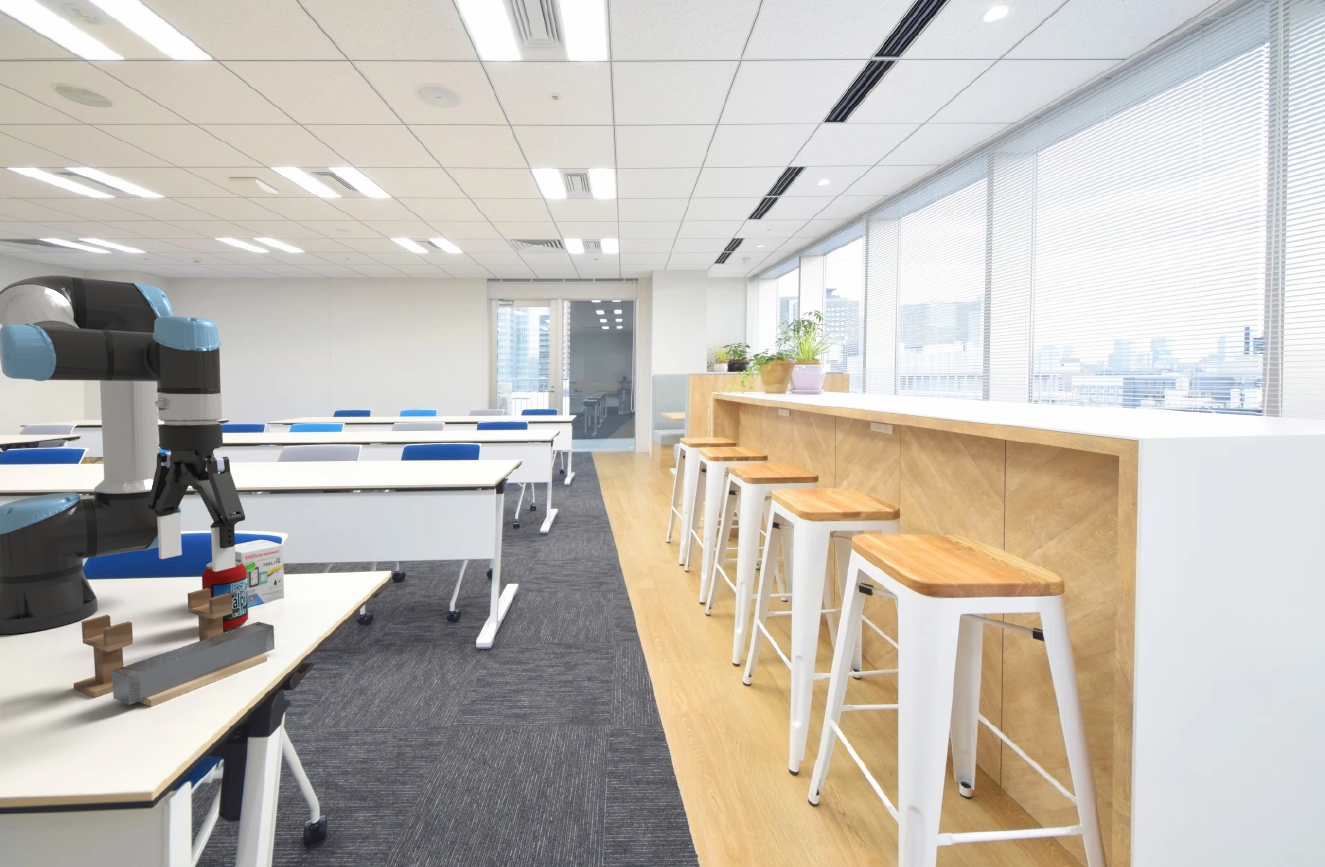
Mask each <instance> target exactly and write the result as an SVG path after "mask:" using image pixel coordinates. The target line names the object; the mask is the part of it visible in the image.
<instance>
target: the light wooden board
mask: <svg viewBox="0 0 1325 867" xmlns="http://www.w3.org/2000/svg"><path fill="white" fill-rule="evenodd" d="M267 656H268V655H267V654H265V653H263V654H260V655H258V656H255V657H252V658H250V659H247V660H245V661H242V662H239V663H237V664H234V665H232V666H229V667H226V668H224V669H221V670H219V671H216V672H213V673H211V674H208V675H206V676H203V677H200V678H198V679H195V680H193V681H190V682H187V683H185V684H182V685H180V686H177V687H174V688H172V689H169V690H167V691H164V692H161V693H159V694H156V695H154V696H151V697H148V698H146V699H143V700H141V701H138V702H139V703H141V704H144V705H146V706H148V707H154V706H157V705H159V704H163V703H165V702H166V701H170V700H171V699H172V700H173V699H174V698H177V697H179V696H182V695H184V694H187V693H189V692H192V691H194V690H196V689H200V688H202V687H205V686H207V685H209V684H212V683H215V682H217V681H219V680H222V679H224V678H228V677H229V676H232V675H235V674H237V673H239V672H242V671H245V670H247V669H250V668H252V667H254V666H256V665H257V666H258V665H260V664H262V663H265V662H267V661H268V659H267V658H268V657H267Z"/></svg>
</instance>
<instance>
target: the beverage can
mask: <svg viewBox="0 0 1325 867" xmlns="http://www.w3.org/2000/svg"><path fill="white" fill-rule="evenodd" d="M205 566H206V567H205V569H204V571H203V572H202V573H201V590H202V589H206V588H208V589H210V593H211V598H213V597H217V596H220V595H224V594H228V593H229V594H232V612H233V613H232V614H229V615H225V616H223V632H225V631H232V630H235V629H238V628H240V627H242V625H243V624H245V623H246V622H247V621H248V620H249V607H248V592H247V569H246V567H245V566H244V565H243V563H242V560H239V559H235V567H233V568H229V569H225V570H221V571H217V572H215V571H213V567H212V561H210V562H209V563H207V564H206V565H205Z"/></svg>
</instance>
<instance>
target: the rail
mask: <svg viewBox="0 0 1325 867" xmlns="http://www.w3.org/2000/svg"><path fill="white" fill-rule="evenodd" d="M273 650H275V626H274V625H273V624H269V623H265V622H262V621H256V622H253V623H250V624H247V625H245V626H244V625H243V626H240V627H237V628H234V629H231V630H228V631H227V632H223V634H220V635H217V636H214V637H211V638H208V639H205V640H202V641H199V642H198V641H196V643H195V642H193V644H192V643H190V645H189V644H187V646H186V645H184V647H183V646H181V647H178V648H175V649H172V650H170V651H167V652H164V653H163V652H162V653H161V654H160V653H159V654H158V655H154V656H151V657H149V658H146V659H145V658H144V659H143V660H140V661H136V662H134V663H131V664H128V665H125V666H124V665H123V667H121V668H118V669H115V670H112V680H113V691H112V694H113V695H112V696H113V699H114V700H117V701H118V702H121V703H124V704H127V705H132V704H135V703H137V702H138V701H141V700H143V699H146V698H148V697H151V696H154V695H156V694H159V693H161V692H164V691H167V690H169V689H172V688H174V687H177V686H180V685H182V684H185V683H187V682H190V681H193V680H195V679H198V678H200V677H203V676H206V675H208V674H211V673H213V672H216V671H219V670H221V669H224V668H226V667H229V666H232V665H234V664H237V663H239V662H242V661H245V660H247V659H250V658H252V657H255V656H258V655H260V654H265V653H267V652H270V651H273Z"/></svg>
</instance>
